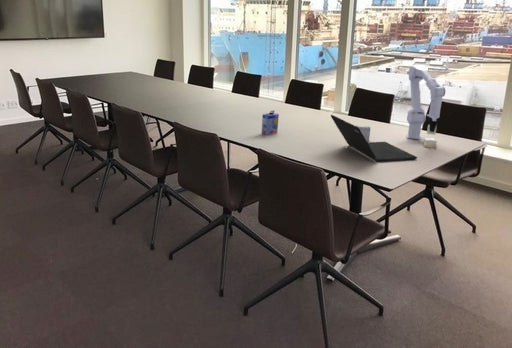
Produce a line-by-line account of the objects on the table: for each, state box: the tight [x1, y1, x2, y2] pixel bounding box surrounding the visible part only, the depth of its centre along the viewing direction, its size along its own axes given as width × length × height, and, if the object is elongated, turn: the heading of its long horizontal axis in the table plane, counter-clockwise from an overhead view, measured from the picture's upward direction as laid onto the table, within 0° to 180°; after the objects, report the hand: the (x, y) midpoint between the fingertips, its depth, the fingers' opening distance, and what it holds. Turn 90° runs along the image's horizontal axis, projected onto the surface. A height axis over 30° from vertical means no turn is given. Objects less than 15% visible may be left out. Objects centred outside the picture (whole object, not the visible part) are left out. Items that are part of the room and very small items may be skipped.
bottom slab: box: [422, 142, 437, 149], centre depth 281 cm, size 7×7×2 cm
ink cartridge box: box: [261, 110, 280, 136], centre depth 295 cm, size 10×6×14 cm, turn 137°
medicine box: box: [356, 125, 371, 142], centre depth 287 cm, size 8×4×9 cm, turn 92°
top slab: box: [422, 137, 438, 146], centre depth 280 cm, size 6×6×2 cm
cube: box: [426, 124, 438, 135], centre depth 278 cm, size 4×4×4 cm
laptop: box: [330, 114, 418, 162], centre depth 260 cm, size 33×38×19 cm
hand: (431, 130), depth 278 cm, fingers closed on cube, 4 cm apart
